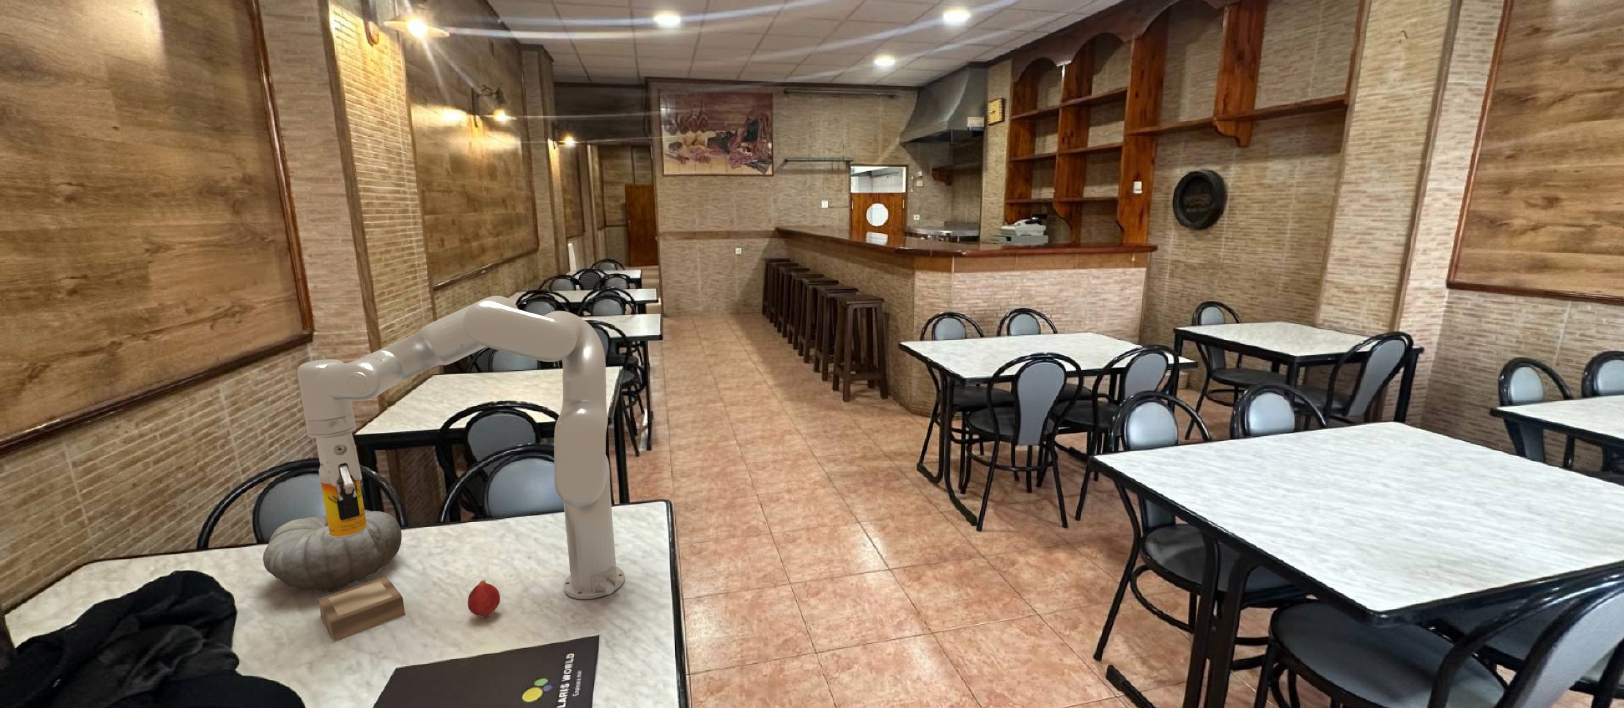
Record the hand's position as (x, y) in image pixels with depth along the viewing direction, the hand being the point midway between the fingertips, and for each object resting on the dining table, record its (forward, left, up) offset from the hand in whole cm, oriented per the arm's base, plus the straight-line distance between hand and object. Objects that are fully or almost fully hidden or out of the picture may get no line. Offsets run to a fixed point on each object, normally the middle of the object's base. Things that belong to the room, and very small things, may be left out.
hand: (345, 511), depth 130 cm
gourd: (+22, 0, -23) cm, 32 cm away
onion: (-19, -17, -23) cm, 34 cm away
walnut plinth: (0, 0, -23) cm, 23 cm away
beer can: (0, 0, -5) cm, 5 cm away
